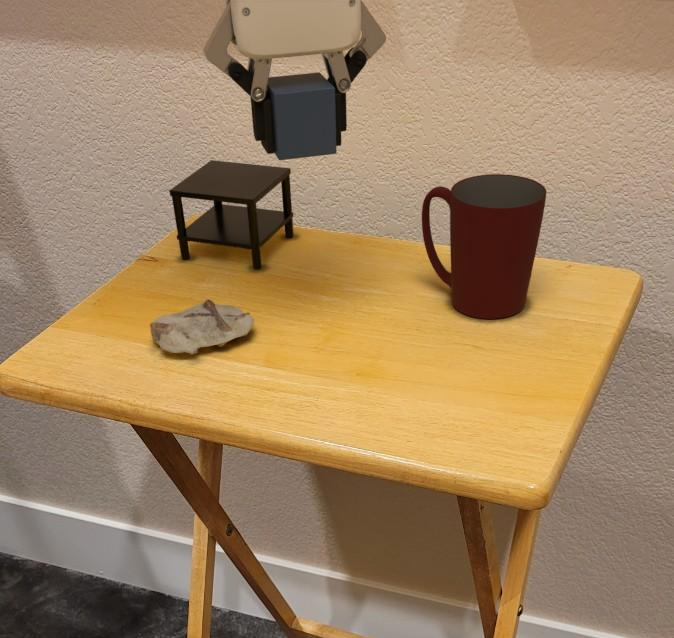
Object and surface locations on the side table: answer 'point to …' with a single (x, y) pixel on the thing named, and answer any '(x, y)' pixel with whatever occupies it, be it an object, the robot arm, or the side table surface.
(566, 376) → the side table surface
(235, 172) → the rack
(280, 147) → the block
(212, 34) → the robot arm
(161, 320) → the stone
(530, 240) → the mug
